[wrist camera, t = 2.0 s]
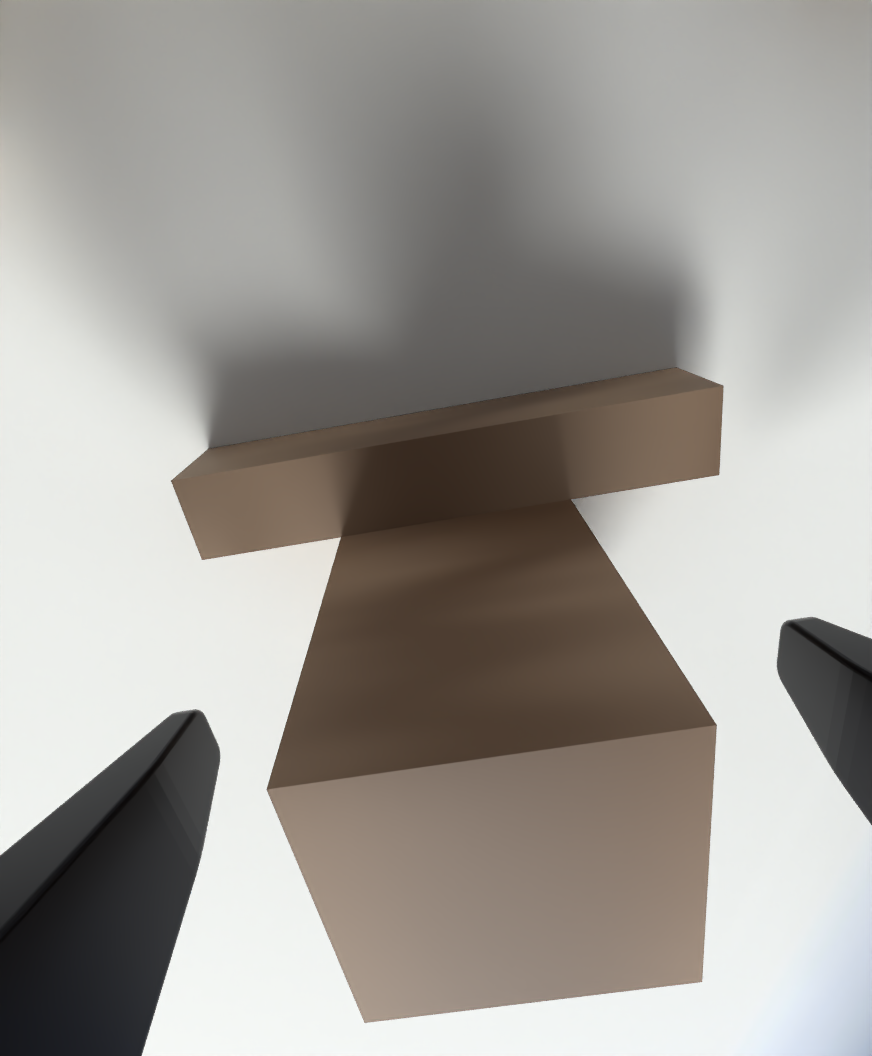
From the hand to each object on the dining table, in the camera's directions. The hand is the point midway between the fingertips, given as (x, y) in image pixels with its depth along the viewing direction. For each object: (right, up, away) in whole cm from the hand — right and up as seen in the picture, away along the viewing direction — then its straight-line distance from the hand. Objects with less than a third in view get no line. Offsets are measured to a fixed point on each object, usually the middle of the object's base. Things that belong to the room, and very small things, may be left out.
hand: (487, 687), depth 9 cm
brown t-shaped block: (0, +2, +3) cm, 4 cm away
